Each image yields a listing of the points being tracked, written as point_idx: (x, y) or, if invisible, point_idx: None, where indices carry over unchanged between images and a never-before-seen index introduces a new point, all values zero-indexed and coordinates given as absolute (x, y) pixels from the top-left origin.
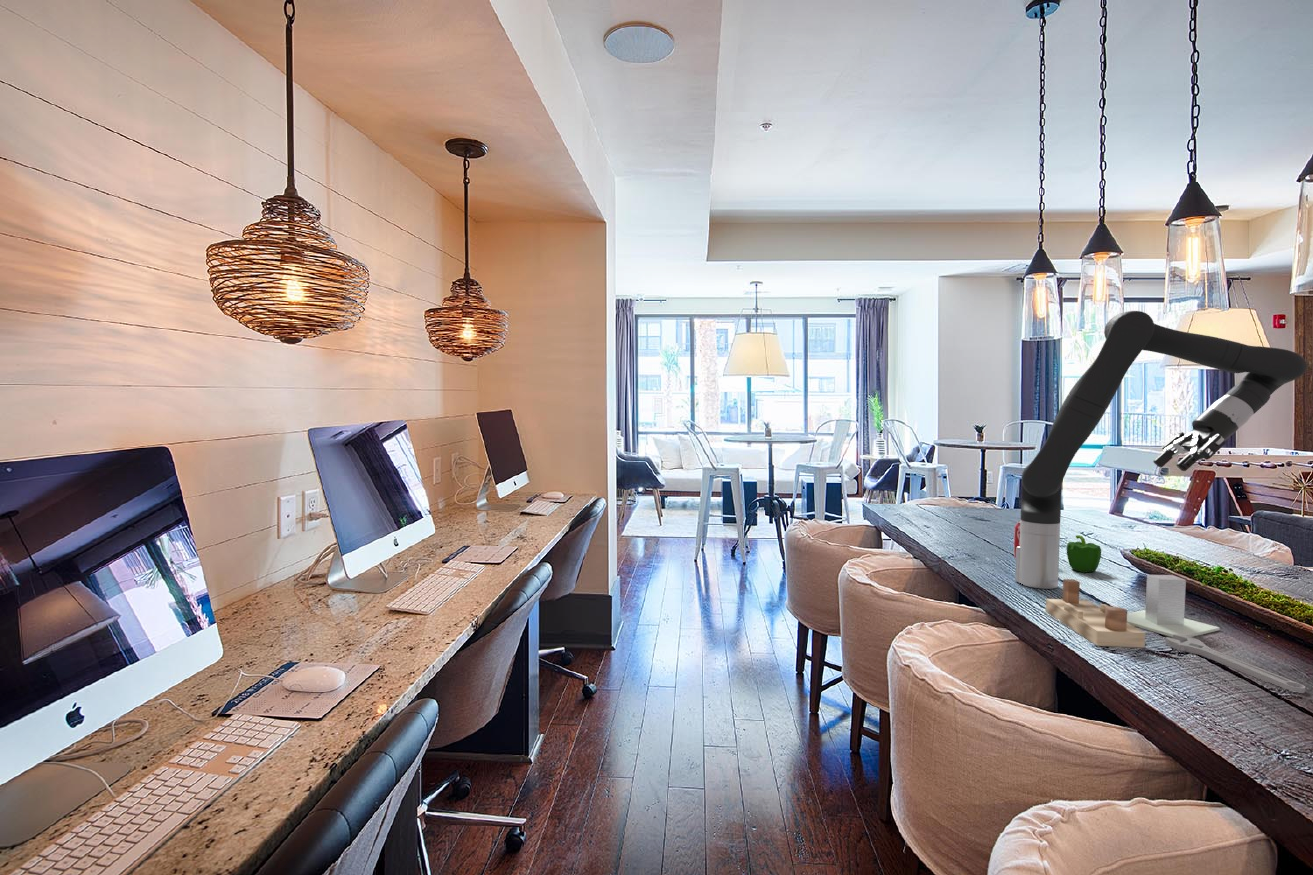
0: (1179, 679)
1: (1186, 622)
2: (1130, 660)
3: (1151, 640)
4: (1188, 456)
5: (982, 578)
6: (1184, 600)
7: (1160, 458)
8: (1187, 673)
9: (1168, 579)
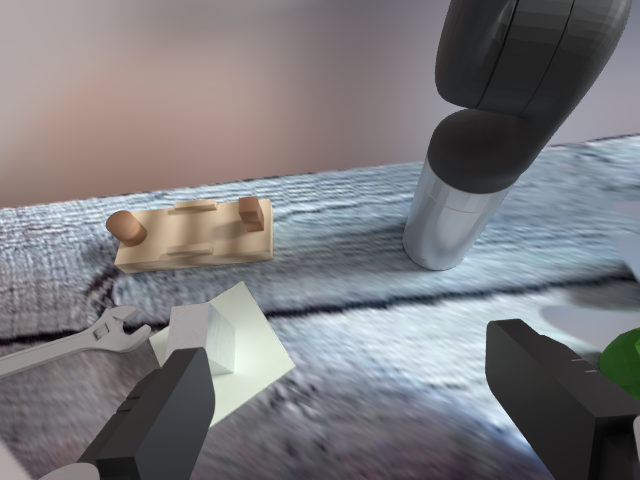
0: (30, 263)
1: (218, 391)
2: (89, 239)
3: (151, 295)
4: (118, 437)
5: None
6: None
7: (518, 360)
8: (42, 281)
9: (170, 325)
